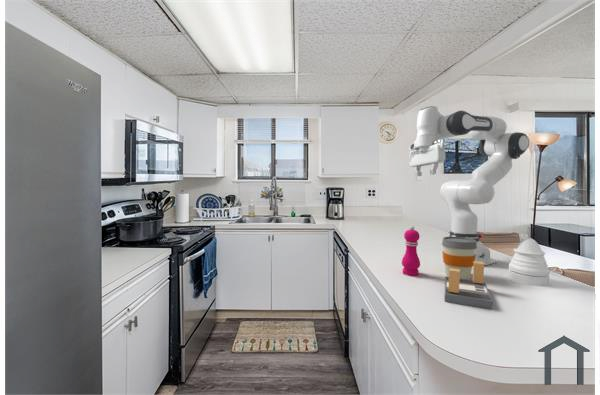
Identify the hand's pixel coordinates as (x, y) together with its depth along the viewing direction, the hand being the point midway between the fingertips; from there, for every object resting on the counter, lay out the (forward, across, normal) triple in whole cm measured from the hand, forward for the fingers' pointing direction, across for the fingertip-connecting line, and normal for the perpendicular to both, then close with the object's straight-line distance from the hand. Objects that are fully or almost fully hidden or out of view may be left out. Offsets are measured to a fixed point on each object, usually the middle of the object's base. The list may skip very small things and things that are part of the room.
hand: (425, 175), depth 134 cm
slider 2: (+40, -26, -4) cm, 48 cm away
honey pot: (+41, -21, -32) cm, 56 cm away
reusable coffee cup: (+42, -10, -9) cm, 44 cm away
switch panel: (+43, -28, +3) cm, 52 cm away
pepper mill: (+42, -4, +8) cm, 43 cm away
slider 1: (+41, -31, +11) cm, 53 cm away
